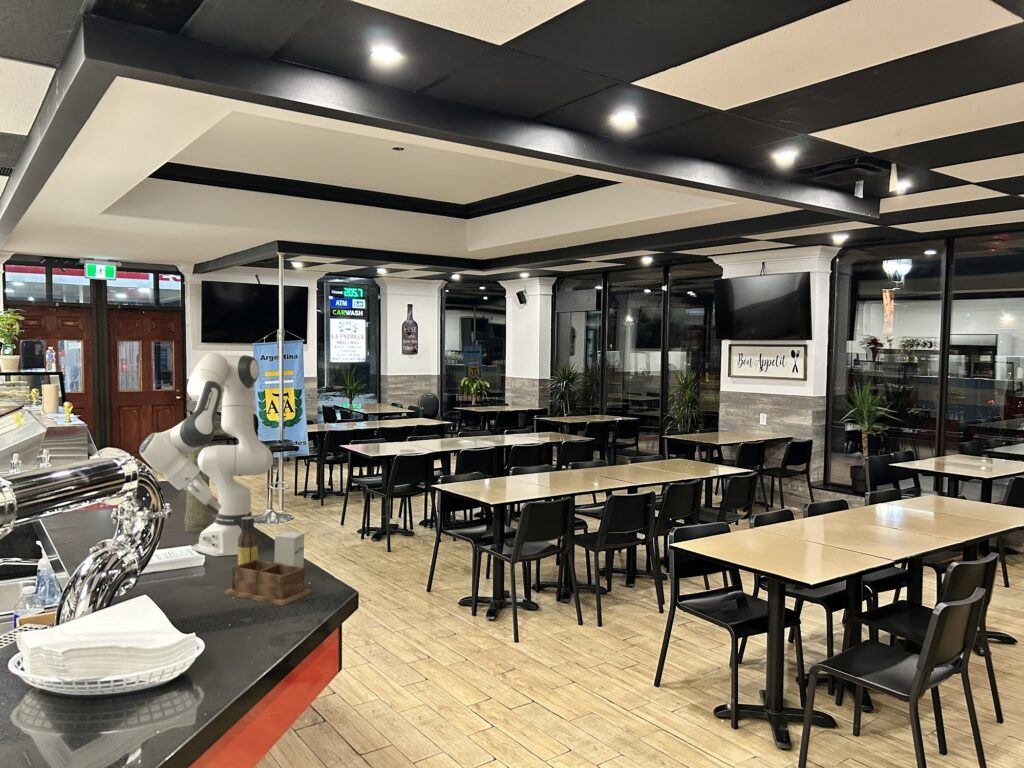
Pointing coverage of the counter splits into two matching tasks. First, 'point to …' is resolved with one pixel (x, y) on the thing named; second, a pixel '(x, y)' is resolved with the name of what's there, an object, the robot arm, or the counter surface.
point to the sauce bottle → (247, 541)
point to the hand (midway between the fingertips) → (218, 505)
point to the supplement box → (289, 549)
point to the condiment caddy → (268, 582)
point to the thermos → (196, 502)
